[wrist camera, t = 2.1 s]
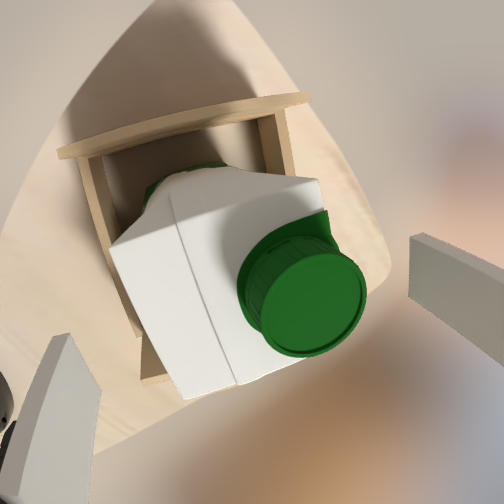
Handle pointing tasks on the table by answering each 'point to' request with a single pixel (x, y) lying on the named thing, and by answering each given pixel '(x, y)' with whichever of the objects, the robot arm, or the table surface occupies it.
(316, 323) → the soya milk
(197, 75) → the table surface
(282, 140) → the wooden tray box
